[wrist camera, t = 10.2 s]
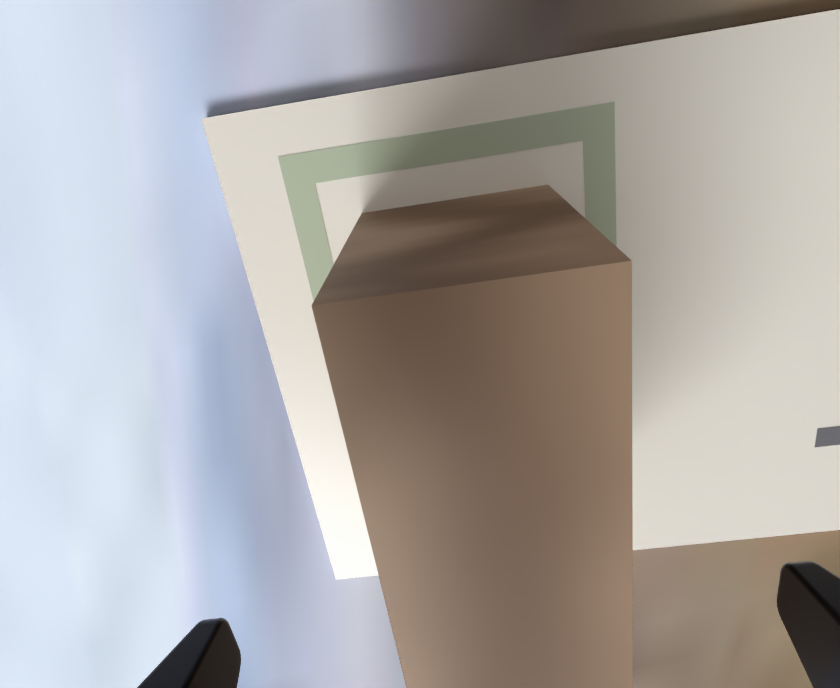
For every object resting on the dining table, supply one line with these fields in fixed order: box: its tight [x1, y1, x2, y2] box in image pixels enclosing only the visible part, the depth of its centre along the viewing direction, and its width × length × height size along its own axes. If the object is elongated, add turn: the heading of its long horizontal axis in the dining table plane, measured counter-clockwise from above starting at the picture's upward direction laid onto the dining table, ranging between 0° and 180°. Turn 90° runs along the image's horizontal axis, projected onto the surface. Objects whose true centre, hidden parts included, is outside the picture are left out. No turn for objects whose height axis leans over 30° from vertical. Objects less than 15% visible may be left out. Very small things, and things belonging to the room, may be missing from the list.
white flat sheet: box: [201, 9, 840, 580], centre depth 17 cm, size 24×16×1 cm, turn 99°
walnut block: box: [311, 185, 633, 688], centre depth 14 cm, size 5×10×7 cm, turn 9°
